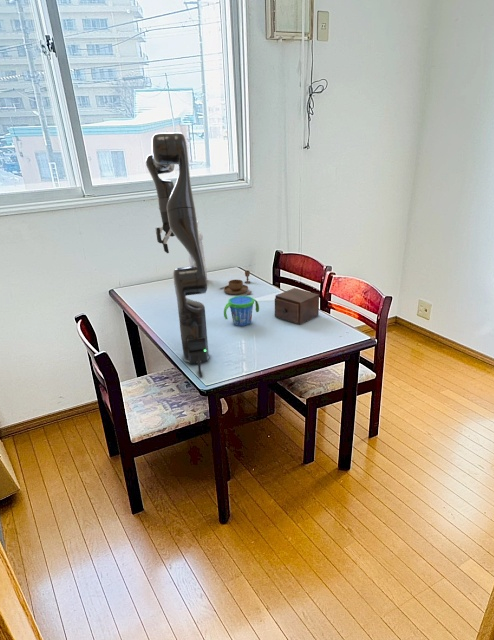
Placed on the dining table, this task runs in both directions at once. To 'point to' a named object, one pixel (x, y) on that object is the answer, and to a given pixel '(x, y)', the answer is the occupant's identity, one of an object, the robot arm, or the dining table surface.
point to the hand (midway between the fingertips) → (177, 251)
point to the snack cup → (241, 309)
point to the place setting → (237, 286)
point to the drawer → (287, 310)
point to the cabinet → (302, 303)
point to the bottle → (201, 252)
